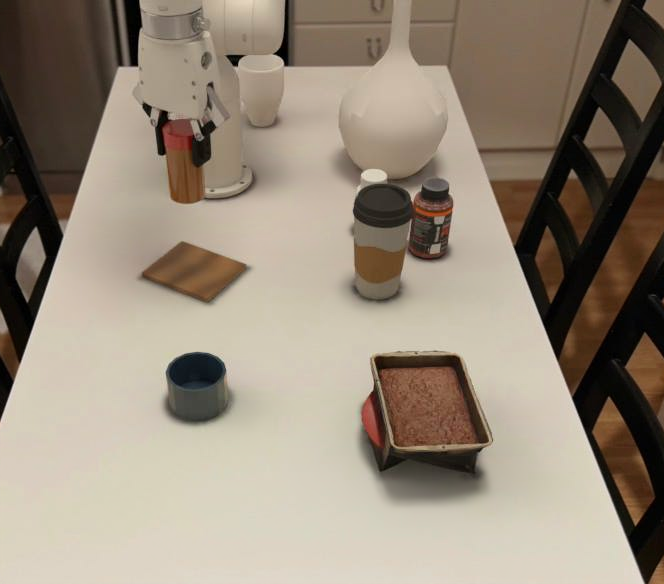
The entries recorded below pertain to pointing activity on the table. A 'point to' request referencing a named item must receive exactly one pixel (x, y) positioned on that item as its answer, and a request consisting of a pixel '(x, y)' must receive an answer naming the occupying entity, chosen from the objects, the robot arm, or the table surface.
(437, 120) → the vase
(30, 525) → the table surface
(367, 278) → the coffee cup
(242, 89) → the mug
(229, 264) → the wooden board
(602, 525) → the table surface
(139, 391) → the table surface
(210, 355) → the cup
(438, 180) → the supplement bottle
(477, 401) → the baking dish
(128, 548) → the table surface
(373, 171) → the pill bottle
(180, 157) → the jar
